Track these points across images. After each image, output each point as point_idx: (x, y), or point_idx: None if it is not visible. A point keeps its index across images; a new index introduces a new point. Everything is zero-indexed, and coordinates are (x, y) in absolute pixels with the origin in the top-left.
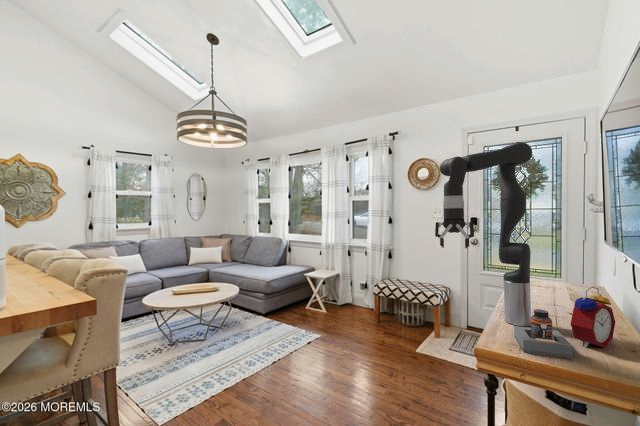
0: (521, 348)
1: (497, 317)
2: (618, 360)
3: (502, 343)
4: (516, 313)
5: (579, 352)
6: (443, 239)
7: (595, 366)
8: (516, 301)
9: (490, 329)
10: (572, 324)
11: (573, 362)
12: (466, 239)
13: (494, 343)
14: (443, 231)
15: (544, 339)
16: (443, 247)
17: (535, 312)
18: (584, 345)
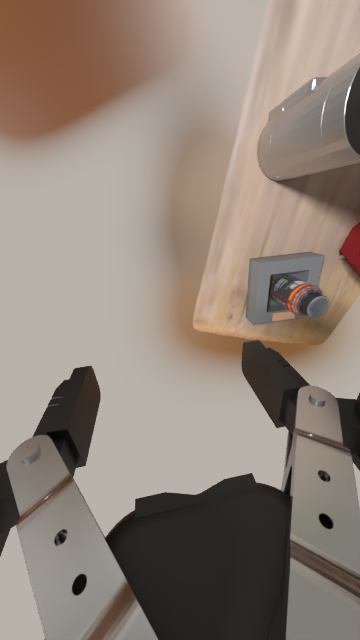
0: (246, 307)
1: (247, 113)
2: (350, 288)
3: (224, 297)
4: (291, 176)
5: (318, 282)
6: (84, 458)
7: (312, 319)
8: (314, 171)
9: (215, 232)
10: (354, 266)
11: (293, 320)
12: (282, 421)
13: (213, 303)
14: (27, 538)
15: (283, 313)
16: (97, 395)
17: (305, 312)
18: (340, 257)
